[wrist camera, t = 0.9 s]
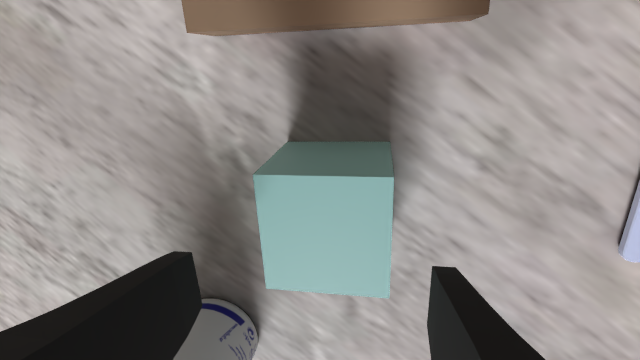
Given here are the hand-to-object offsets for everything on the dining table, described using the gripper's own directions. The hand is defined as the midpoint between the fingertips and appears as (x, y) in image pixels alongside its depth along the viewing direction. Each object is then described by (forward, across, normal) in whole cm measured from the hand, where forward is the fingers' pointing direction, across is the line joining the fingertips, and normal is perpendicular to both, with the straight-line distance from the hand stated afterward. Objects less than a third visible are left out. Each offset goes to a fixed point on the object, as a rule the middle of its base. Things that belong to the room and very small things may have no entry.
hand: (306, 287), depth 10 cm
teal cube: (+8, 0, 0) cm, 8 cm away
